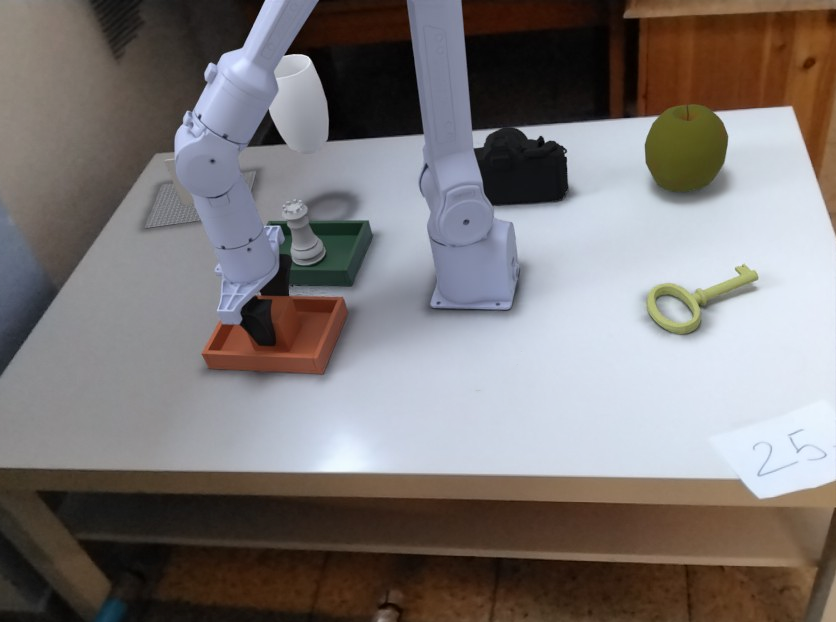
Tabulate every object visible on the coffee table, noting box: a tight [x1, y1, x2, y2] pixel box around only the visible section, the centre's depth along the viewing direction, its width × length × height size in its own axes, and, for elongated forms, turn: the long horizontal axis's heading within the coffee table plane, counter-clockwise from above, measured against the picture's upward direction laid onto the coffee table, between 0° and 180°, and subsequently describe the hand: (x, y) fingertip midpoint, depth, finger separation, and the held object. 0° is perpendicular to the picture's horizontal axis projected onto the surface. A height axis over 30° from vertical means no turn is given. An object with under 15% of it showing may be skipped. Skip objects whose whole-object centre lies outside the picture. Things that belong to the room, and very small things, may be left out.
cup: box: [268, 53, 330, 155], centre depth 107 cm, size 7×7×21 cm
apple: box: [644, 103, 729, 193], centre depth 102 cm, size 10×10×11 cm
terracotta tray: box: [201, 294, 349, 375], centre depth 96 cm, size 14×10×2 cm
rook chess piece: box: [281, 198, 326, 266], centre depth 104 cm, size 4×4×8 cm
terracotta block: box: [246, 295, 302, 351], centre depth 95 cm, size 4×4×4 cm
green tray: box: [265, 219, 374, 287], centre depth 106 cm, size 14×10×2 cm
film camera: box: [473, 126, 569, 206], centre depth 108 cm, size 15×10×9 cm, turn 82°
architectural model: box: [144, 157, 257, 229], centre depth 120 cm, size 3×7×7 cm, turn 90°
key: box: [646, 263, 759, 335], centre depth 90 cm, size 7×12×2 cm, turn 125°
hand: (274, 328), depth 96 cm, fingers closed on terracotta block, 4 cm apart
